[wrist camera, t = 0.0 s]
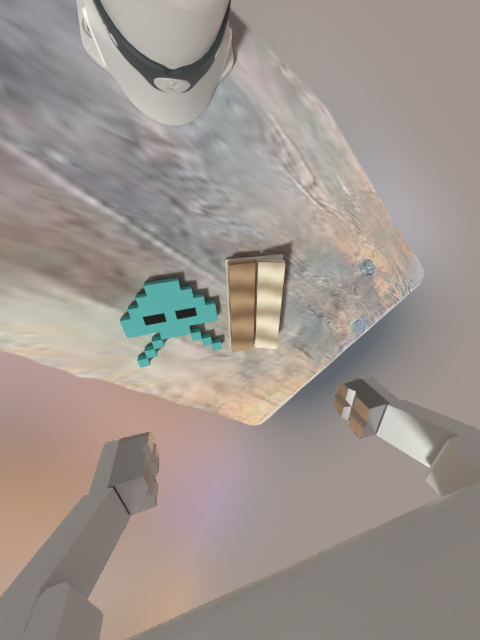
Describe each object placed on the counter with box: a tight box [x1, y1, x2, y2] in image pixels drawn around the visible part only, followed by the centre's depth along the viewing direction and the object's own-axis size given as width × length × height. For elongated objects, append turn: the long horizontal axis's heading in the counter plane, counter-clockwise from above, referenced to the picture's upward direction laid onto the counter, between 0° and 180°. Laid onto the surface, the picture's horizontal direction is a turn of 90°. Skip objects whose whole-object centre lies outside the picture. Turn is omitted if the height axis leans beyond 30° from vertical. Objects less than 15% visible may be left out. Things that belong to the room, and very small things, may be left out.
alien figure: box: [120, 277, 222, 367], centre depth 48 cm, size 20×2×20 cm
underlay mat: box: [225, 254, 283, 349], centre depth 52 cm, size 24×13×1 cm, turn 1°
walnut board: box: [227, 260, 257, 352], centre depth 51 cm, size 23×6×2 cm, turn 1°
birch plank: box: [256, 259, 285, 349], centre depth 51 cm, size 23×6×2 cm, turn 1°
